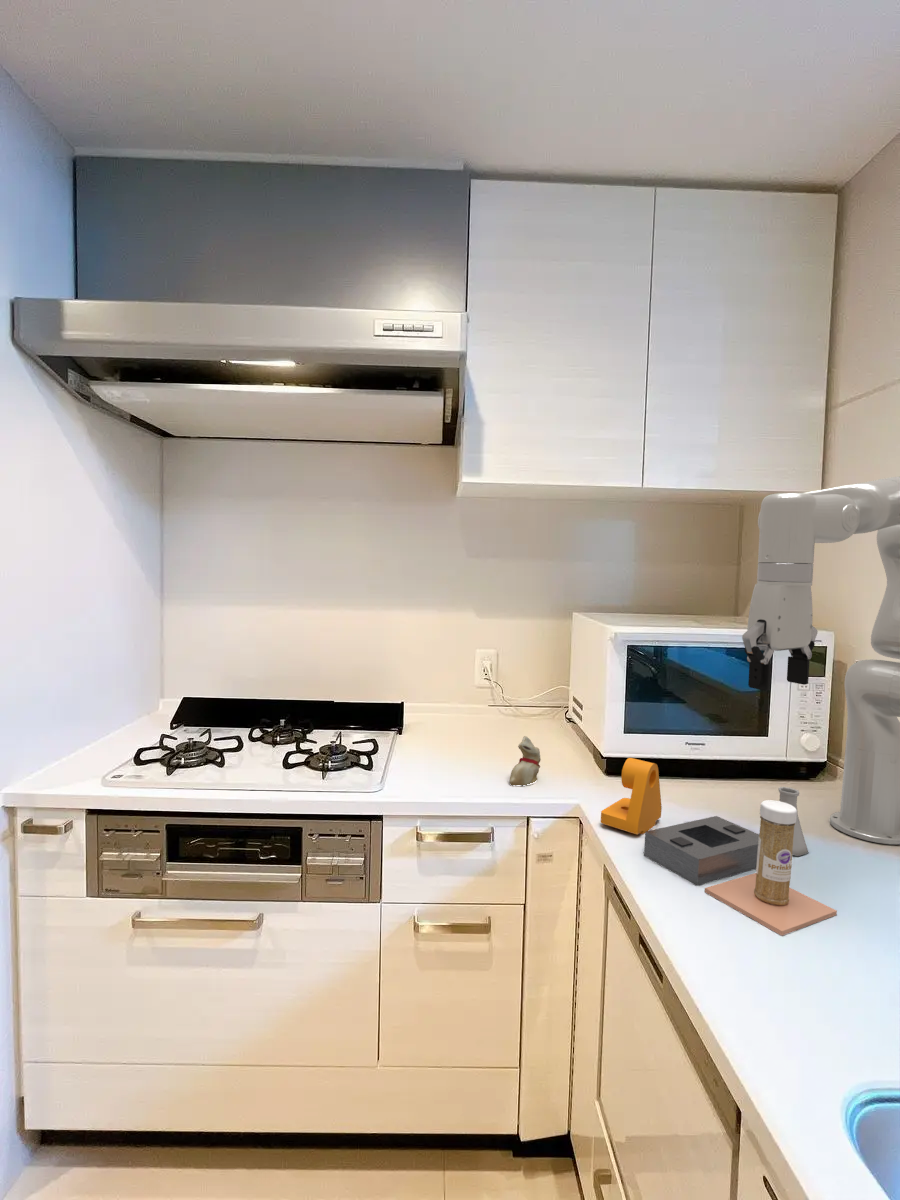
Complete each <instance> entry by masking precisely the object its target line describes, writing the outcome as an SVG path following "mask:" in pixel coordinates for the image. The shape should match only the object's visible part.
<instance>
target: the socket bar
mask: <svg viewBox="0 0 900 1200" xmlns="http://www.w3.org/2000/svg"><path fill="white" fill-rule="evenodd" d="M758 839H759V833H758V832H755V831H753V830H750V829H749V828H745V827H743V826H741V825H738V824H737V823H734V822H732V821H730V820H727V819H724V818H722V817H719V816H718V815H715V816H710V817H705V818H701V819H697V820H696V819H695V820H692V821H687V822H682V823H677V824H673V825H669V826H664V827H661V828H656V829H650V830H648V831H645V833H644V843H643V845H644V846H643V857H645V858H647V859H649V860H650V861H652V862H654V863H656V864H658V865H659V866H661V867H663V868H665V869H667V870H669V871H670V872H672V873H673V874H676V875H678V876H679V877H681V878H682V879H684V880H686V881H688V882H690V883H691V884H693V885H695V886H702V885H705V883H706V884H709V883H711V882H716V881H719V880H722V879H725V878H728V877H729V878H730V877H733V876H736V875H739V874H742V873H746V872H749V871H753V870H756V864H757V851H758Z"/></svg>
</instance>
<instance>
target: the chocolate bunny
mask: <svg viewBox="0 0 900 1200" xmlns="http://www.w3.org/2000/svg"><path fill="white" fill-rule="evenodd" d="M517 747H518V749H519V750H520V751H521V754H522V757H520V758H519V759H518V761H519V762H518V763H517V764H515V765H514V767H513V768H512V770H511V772H510V775H509V785H510V784H511V785H527V784H530V783H533V782H535V781H536V780H537V781H538V774H539V772H540V768H541V764H540V763H541V760H542V759H541V752H540V748H539V747H536V746H535V745H534V743H533V742H532V741H531V739H530V738H529V737H528V736H526V735H524V736H523V738H522V739H521V742H519V744H518V746H517ZM511 785H510V786H511Z"/></svg>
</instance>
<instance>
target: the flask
mask: <svg viewBox="0 0 900 1200" xmlns="http://www.w3.org/2000/svg"><path fill="white" fill-rule="evenodd" d="M777 791H778V792H779V800H778V801H780V802H784V803H787V804H790V805H792V806H794V807H795V808H796V810H797V818H796V823H795V825H794V837H793V851H792V856H796V857H800V856H803V855H806V854H808V853H809V849H808V846H807V842H806V839H805V836H804V833H803V829H802V825H801V822H800V818H799V813H798V812H799V811H798V796H800V791H799V789H796V788H793V787H788V786H787V787H786V786H780V787H778V790H777Z"/></svg>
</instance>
